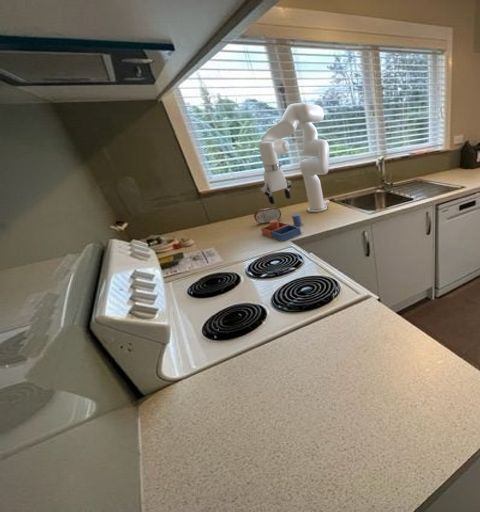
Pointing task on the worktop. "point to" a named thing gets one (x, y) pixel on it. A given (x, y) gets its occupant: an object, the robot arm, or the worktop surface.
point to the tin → (267, 215)
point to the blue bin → (286, 232)
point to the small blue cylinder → (296, 220)
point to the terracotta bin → (268, 230)
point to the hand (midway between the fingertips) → (280, 200)
